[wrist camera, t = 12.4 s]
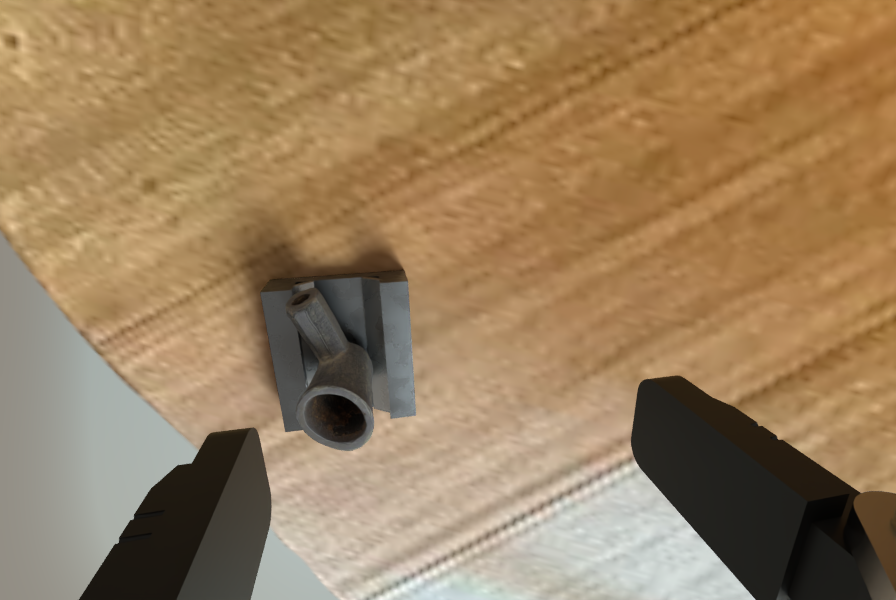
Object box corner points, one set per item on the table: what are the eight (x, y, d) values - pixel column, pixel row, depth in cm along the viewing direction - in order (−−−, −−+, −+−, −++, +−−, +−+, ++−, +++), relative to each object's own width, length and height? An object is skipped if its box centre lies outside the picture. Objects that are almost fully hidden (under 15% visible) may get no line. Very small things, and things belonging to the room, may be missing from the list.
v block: (270, 279, 39) (260, 292, 36) (404, 270, 42) (407, 281, 38) (292, 408, 44) (285, 432, 40) (412, 394, 46) (416, 415, 42)
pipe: (336, 274, 37) (317, 321, 30) (393, 381, 43) (388, 441, 36) (273, 297, 38) (241, 347, 31) (338, 399, 44) (323, 462, 37)
